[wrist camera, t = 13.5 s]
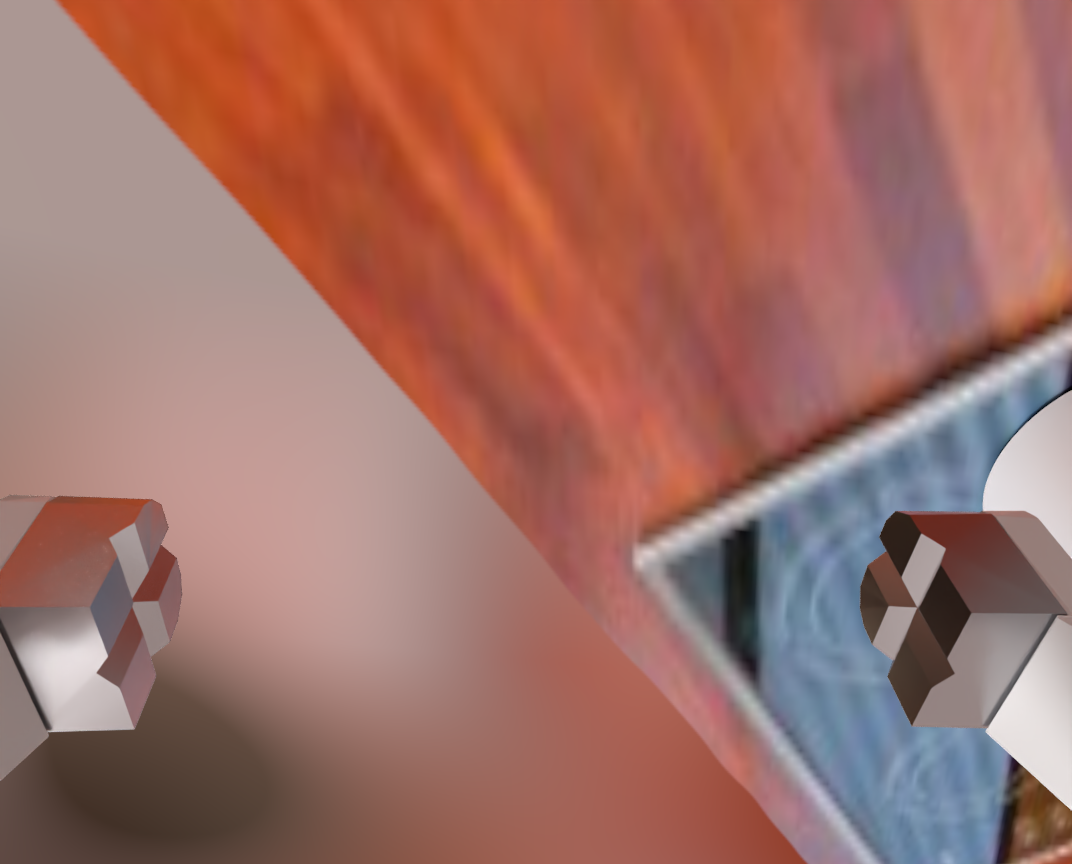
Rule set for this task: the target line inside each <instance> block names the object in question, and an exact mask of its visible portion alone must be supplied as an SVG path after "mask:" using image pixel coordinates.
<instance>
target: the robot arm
mask: <svg viewBox="0 0 1072 864" xmlns="http://www.w3.org/2000/svg"><path fill="white" fill-rule="evenodd" d="M168 528H169V527H168V524H167V521H166V518H165V514H164V512H163V508H162V505H161V504H160V503H158V502H156V501H154V500H152V499H127V498H101V497H74V496H58V497H51V496H25V495H9V496H7V497H5V498H2V499H0V781H1V780H2V779H3V778H4V777H5V776H6V775H7V774H8V773H10V772H11V771H12V770H13V769H14V768H15V767H16V766H17V765H18V764H19V763H20V762H21V761H23V760H24V759H25V758H26V757H27V756H28V755H29V754H30V753H31V752H32V751H33V750H34V749H36V748H37V747H38V746H39V745H40V744H41V743H42V742H43V741H44V740H45V739H47V738H48V733H47V732H58V731H59V732H60V731H90V730H92V731H93V730H125V729H135V726H136V724H137V722H138V719H139V717H140V714H141V712H142V710H143V707H144V705H145V702H146V700H147V697H148V695H149V692H150V690H151V687H152V685H153V683H154V680H155V677H156V673H155V670H154V667H153V664H152V660H151V656H152V655H154V654H155V653H156V652H157V651H159V650H160V649H161V648H163V647H164V646H165V645H167V644H168V643H169V642H170V640H171V638H172V635H173V632H174V630H175V627H176V624H177V622H178V617H179V610H180V604H181V597H182V587H181V573H180V570H179V565H178V561H177V558H176V557H175V556H174V555H172V554H171V553H170V552H169V551H168V550H167V549H165V548H164V547H163V546H162V545H161V543H162V541H163V539H164V537H165V534H166V532H167V530H168ZM879 538H880V540H881V542H882V544H883V546H884V548H885V550H886V552H884V553H883V554H882V555H880V556H879V557H878V558H877V559H875V560H874V561H873V562H871V563H870V564H869V565H868V566H867V569H866V571H865V574H864V577H863V580H862V583H861V586H860V612H861V616H862V620H863V624H864V628H865V630H866V632H867V634H868V636H869V639H870V641H871V643H872V645H873V646H875V647H876V648H877V649H879V650H880V651H881V652H883V653H884V654H885V655H886V656H888V657H889V658H890V659H892V660H893V661H892V664H891V667H890V670H889V673H888V676H887V677H888V679H889V681H890V683H891V685H892V687H893V689H894V691H895V693H896V695H897V697H898V699H899V701H900V703H901V706H902V708H903V710H904V712H905V714H906V716H907V718H908V720H909V722H910V724H911V726H914V727H956V728H988V729H987V730H986V733H987V734H988V735H990V736H991V737H992V738H993V739H994V740H995V741H996V742H997V743H998V744H999V745H1000V746H1002V747H1003V748H1004V749H1005V750H1006V751H1007V752H1008V753H1009V754H1010V755H1011V756H1013V757H1014V758H1015V759H1016V760H1017V761H1018V762H1019V763H1020V764H1021V765H1022V766H1024V767H1025V768H1026V769H1027V770H1028V771H1029V772H1030V773H1031V774H1032V775H1033V776H1034V777H1036V778H1037V779H1038V780H1039V781H1040V782H1041V783H1042V784H1043V785H1044V786H1045V787H1047V788H1048V789H1049V790H1050V791H1051V792H1052V793H1053V794H1054V795H1055V796H1056V797H1058V798H1059V799H1060V800H1061V801H1062V802H1063V803H1064V804H1065V805H1066V806H1067V807H1068V808H1070V809H1071V810H1072V390H1071V391H1069V392H1067V393H1066V394H1064V395H1062V396H1061V397H1059V398H1058V399H1056V400H1055V401H1053V402H1052V403H1050V404H1049V405H1048V406H1046V407H1045V408H1044V409H1042V410H1041V411H1040V412H1039V413H1037V414H1036V415H1035V416H1034V417H1033V418H1032V419H1030V420H1029V421H1028V422H1027V423H1026V424H1025V425H1024V426H1023V427H1022V428H1021V429H1020V430H1019V431H1018V432H1017V433H1016V434H1015V436H1014V437H1013V438H1012V439H1011V440H1010V442H1009V443H1008V444H1007V445H1006V447H1005V448H1004V449H1003V451H1002V452H1001V454H1000V455H999V457H998V459H997V460H996V462H995V464H994V466H993V468H992V470H991V472H990V474H989V477H988V479H987V483H986V486H985V490H984V496H983V511H981V512H947V511H895V512H894V513H893V514H892V515H891V516H890V517H889V518H888V519H887V520H886V522H885V524H884V527H883V529H882V531H881V534H880V536H879Z"/></svg>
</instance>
